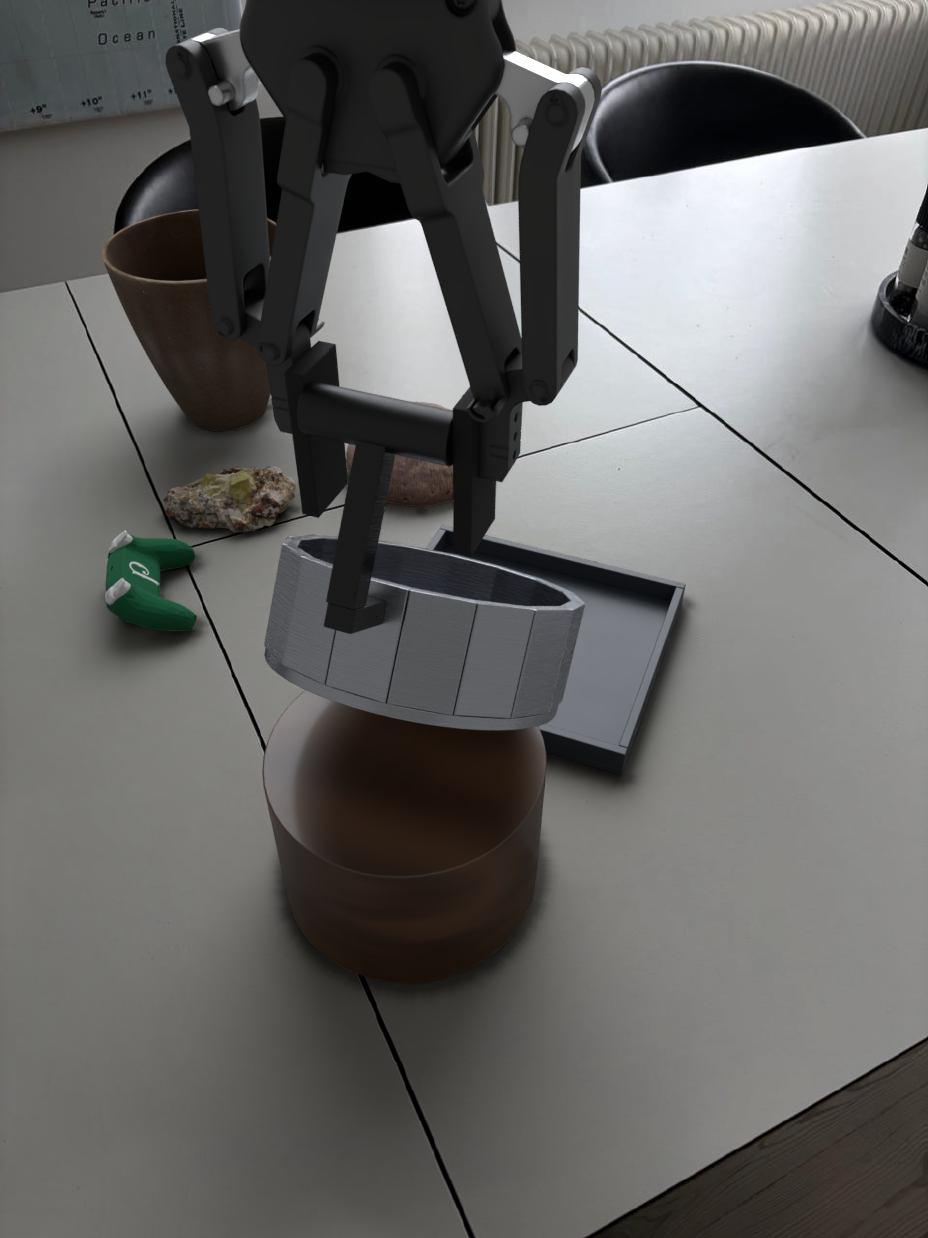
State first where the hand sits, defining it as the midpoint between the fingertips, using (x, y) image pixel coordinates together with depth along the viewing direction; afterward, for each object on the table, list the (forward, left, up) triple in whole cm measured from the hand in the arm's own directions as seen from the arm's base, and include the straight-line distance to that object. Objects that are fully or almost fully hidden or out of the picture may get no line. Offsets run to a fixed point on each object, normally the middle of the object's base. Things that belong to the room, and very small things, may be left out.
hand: (398, 515), depth 42 cm
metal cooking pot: (+1, -1, -9) cm, 9 cm away
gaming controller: (-29, -9, -25) cm, 39 cm away
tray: (-13, +13, -25) cm, 31 cm away
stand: (0, 0, -25) cm, 25 cm away
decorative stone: (-37, +15, -25) cm, 47 cm away
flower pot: (-53, +2, -25) cm, 58 cm away
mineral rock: (-38, -1, -25) cm, 45 cm away
